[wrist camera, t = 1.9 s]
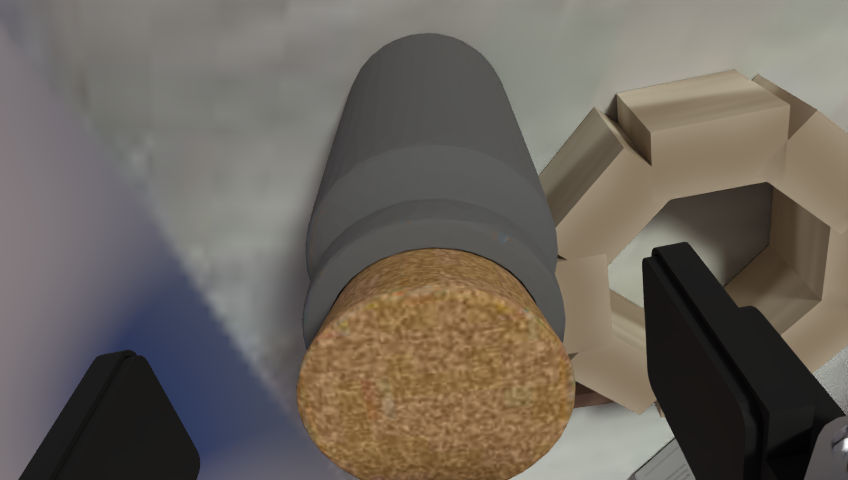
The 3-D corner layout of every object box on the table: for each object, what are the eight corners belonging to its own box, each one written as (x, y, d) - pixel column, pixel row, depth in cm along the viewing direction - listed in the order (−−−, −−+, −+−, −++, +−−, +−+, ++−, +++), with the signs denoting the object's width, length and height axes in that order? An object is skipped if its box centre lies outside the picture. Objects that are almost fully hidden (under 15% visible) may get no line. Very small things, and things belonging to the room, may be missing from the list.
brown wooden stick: (636, 374, 30) (640, 385, 30) (636, 387, 31) (641, 397, 30) (428, 408, 31) (428, 418, 31) (431, 419, 32) (432, 430, 31)
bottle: (483, 196, 25) (550, 536, 12) (337, 168, 25) (247, 496, 12) (525, 50, 23) (669, 293, 10) (361, 14, 22) (277, 224, 9)
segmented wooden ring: (855, 45, 23) (934, 76, 19) (820, 322, 29) (876, 384, 25) (503, 116, 24) (518, 158, 20) (542, 368, 30) (558, 433, 26)
